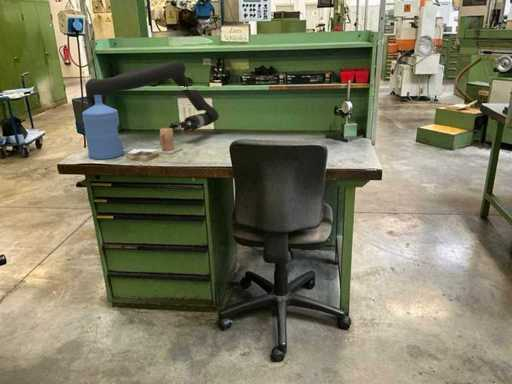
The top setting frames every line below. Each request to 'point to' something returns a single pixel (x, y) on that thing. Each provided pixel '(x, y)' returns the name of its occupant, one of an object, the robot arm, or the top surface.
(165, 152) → the mat
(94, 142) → the water jug
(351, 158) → the top surface
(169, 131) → the pillar candle
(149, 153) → the wooden frame
